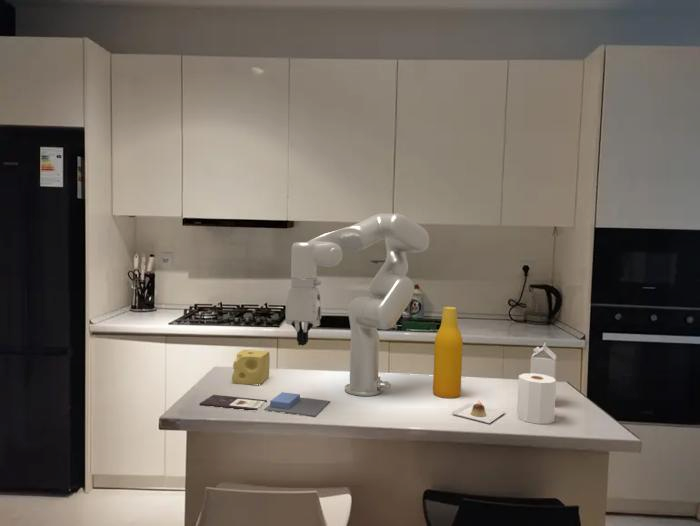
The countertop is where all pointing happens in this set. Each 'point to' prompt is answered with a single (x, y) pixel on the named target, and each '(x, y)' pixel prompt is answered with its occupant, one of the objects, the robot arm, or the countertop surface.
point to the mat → (303, 407)
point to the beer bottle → (448, 356)
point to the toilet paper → (536, 398)
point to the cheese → (251, 367)
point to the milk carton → (543, 361)
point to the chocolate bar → (233, 402)
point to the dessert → (477, 411)
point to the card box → (285, 400)
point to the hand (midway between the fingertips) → (302, 344)
